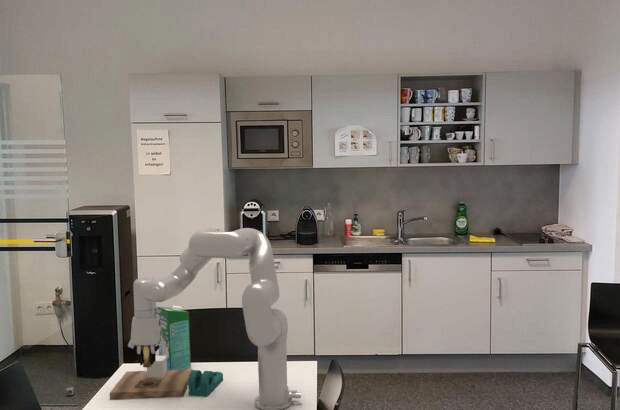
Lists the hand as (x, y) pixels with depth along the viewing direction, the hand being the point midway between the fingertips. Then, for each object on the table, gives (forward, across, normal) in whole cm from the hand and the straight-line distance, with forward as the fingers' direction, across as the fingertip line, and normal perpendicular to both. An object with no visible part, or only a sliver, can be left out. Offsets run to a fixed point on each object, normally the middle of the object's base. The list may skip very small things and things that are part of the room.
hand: (147, 363), depth 195 cm
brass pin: (+1, 0, 0) cm, 1 cm away
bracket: (+10, -21, -2) cm, 24 cm away
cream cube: (+7, -1, -9) cm, 12 cm away
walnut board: (+10, -1, -3) cm, 10 cm away
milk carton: (+10, -5, -22) cm, 25 cm away
